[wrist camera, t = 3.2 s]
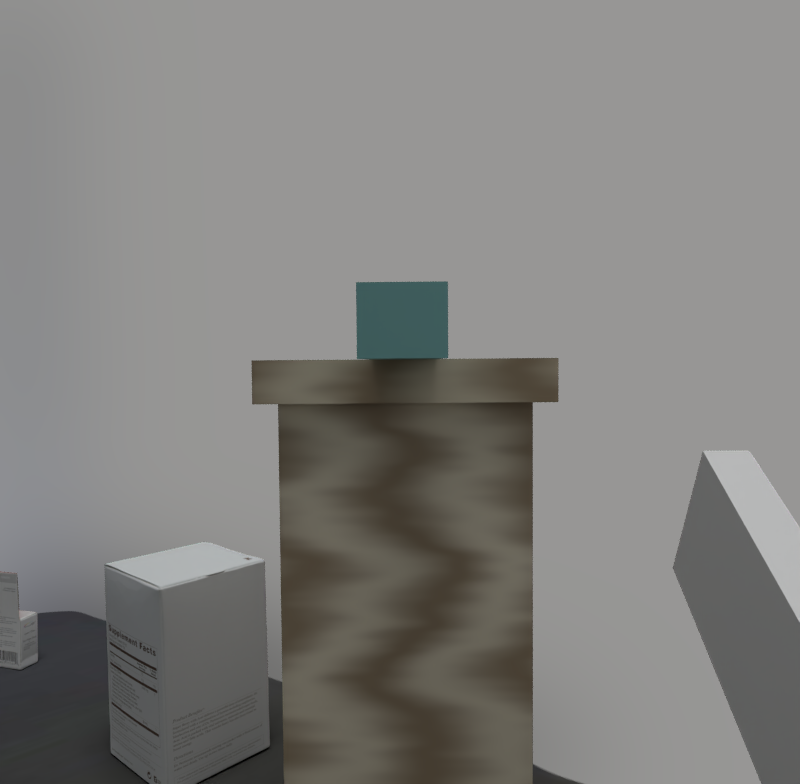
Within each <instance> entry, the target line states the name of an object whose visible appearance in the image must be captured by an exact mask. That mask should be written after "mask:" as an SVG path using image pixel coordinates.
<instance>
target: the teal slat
mask: <svg viewBox="0 0 800 784" xmlns="http://www.w3.org/2000/svg"><path fill="white" fill-rule="evenodd" d="M356 294H357V295H356V299H357V300H356V302H357V303H356V304H357V359H369V360H390V359H443V358H448V282H360V283H359V282H357V283H356Z"/></svg>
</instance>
